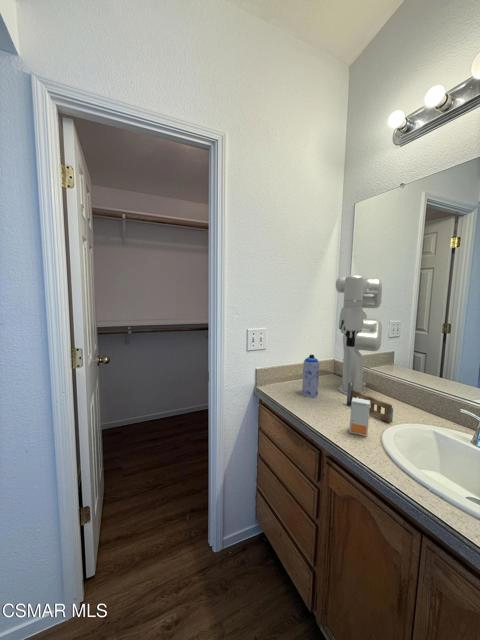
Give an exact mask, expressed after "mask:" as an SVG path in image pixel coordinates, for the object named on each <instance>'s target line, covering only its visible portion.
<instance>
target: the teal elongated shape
mask: <svg viewBox="0 0 480 640" xmlns="http://www.w3.org/2000/svg"><path fill="white" fill-rule="evenodd" d="M353 387H354V383H348V391H347V394H346V406H349V407H351V402H352V390H353ZM383 414H386V409H385V408H384V411H383ZM393 416H394V408H393V407H392V413H391V422H390V423H392V422H393Z"/></svg>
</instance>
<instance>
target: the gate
mask: <svg viewBox="0 0 480 640" xmlns="http://www.w3.org/2000/svg"><path fill="white" fill-rule="evenodd" d="M352 398H359V399H364V400H370V409H369V415H372V416H373V417H377V418H379V419H381V420H382V421H384V422H387V423H392V422H391V413H392V408H393V404H391V403H388V402H385V401H383V400H381V399H379V398H376V397H373V396H371V395H368V394H366V393H365V394H363V393H361V392H358V391H356V390H352ZM375 405H376V410H375ZM382 409H384V410H385V409H386V414H384V413H382Z"/></svg>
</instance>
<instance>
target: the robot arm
mask: <svg viewBox="0 0 480 640" xmlns="http://www.w3.org/2000/svg"><path fill="white" fill-rule="evenodd" d="M382 285H383V284H382V282H381V279H380V278H378V277H372V278H370V277H366V276H363V275H347V276H344V275H343V276H338V277H337V279H336V280H335V290H336V292H337V293H341V294H343V305H342V306H343V307H341V310H340V314H339V319H338V329H339V330H340V334H342V345H343V347H342V348H343V361H342V377H341V378H342V381H341V385H339V386H338V391H339V392H340V393H342V394H345V395H347V391H348V383H354V387H353V390H356V391H358V392H361V393H363V394H366V389H363V387H366V385H367V382H365V381H363V376H364V375H363V374H364V356H363V355H362V353H361V352H360V351H367V352H378V351H379V350H380V349H381V346H382V345H381V344H382V332H383V327H382V322H381V321H380V320H379V319H377V318H368V315H367V314H366V312H365V311H364V310H363V309H378V308H380V307H381V305H382V299H381V298H382V297H383V296H382V295H383V294H382V292H383V286H382ZM380 304H381V305H380ZM379 306H380V307H379Z"/></svg>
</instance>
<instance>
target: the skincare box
mask: <svg viewBox="0 0 480 640" xmlns="http://www.w3.org/2000/svg"><path fill="white" fill-rule="evenodd" d="M370 403H371V402H370V400H364V399H359V397H357V398H352V402H351V406H350V416H349V418H350V420H349V429H348V430H349V432H348V433H350V434H351V433H352V434H356V435H359V436H364V437H368V431H369V421H370V420H369V419H370V413H369V409H370Z"/></svg>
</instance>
